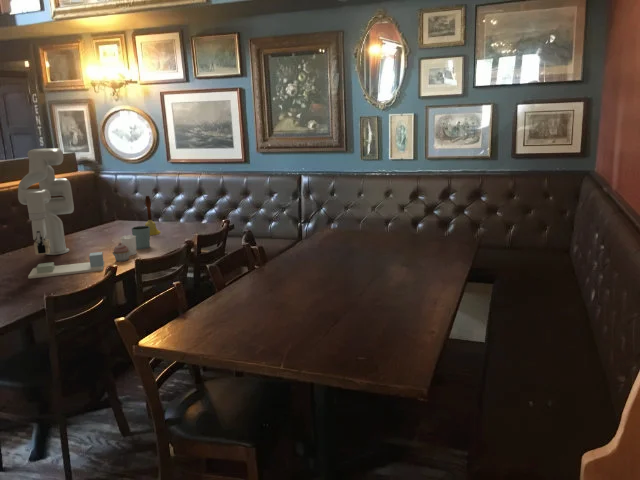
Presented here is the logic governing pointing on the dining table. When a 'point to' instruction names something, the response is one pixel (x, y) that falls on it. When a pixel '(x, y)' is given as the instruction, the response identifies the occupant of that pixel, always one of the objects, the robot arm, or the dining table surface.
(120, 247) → the cupcake
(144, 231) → the teal plant pot
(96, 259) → the blue block
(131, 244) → the white cup
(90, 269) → the build board
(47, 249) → the beech block
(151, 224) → the handbell
